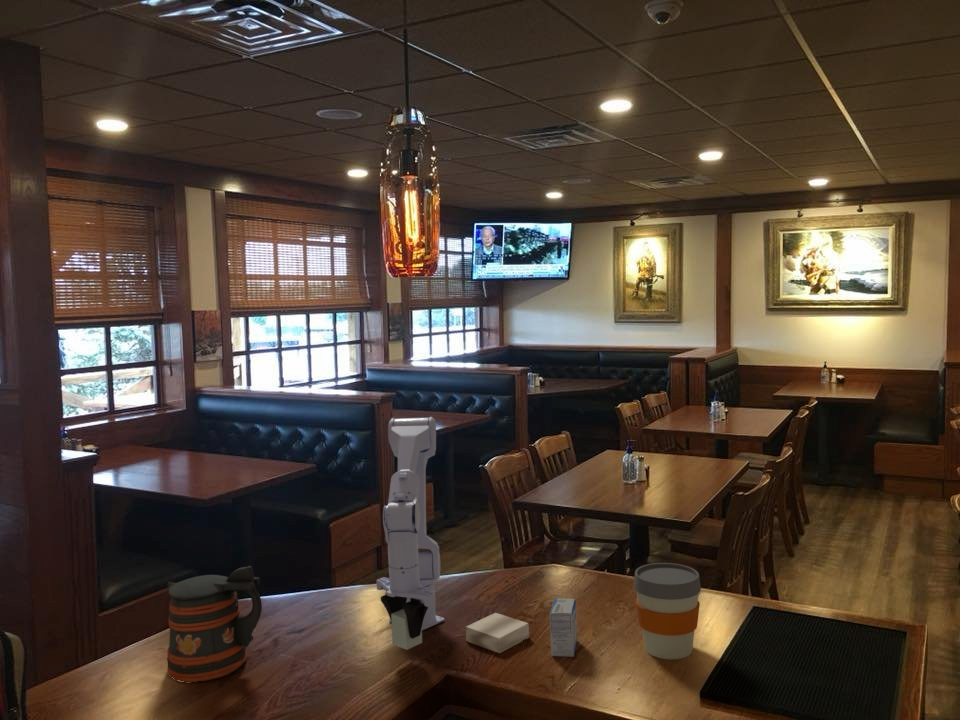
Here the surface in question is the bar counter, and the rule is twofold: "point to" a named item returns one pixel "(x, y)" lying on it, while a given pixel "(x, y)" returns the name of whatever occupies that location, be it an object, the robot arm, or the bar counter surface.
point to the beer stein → (210, 625)
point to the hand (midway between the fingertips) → (407, 633)
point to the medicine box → (563, 627)
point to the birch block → (497, 632)
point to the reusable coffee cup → (667, 608)
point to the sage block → (403, 631)
